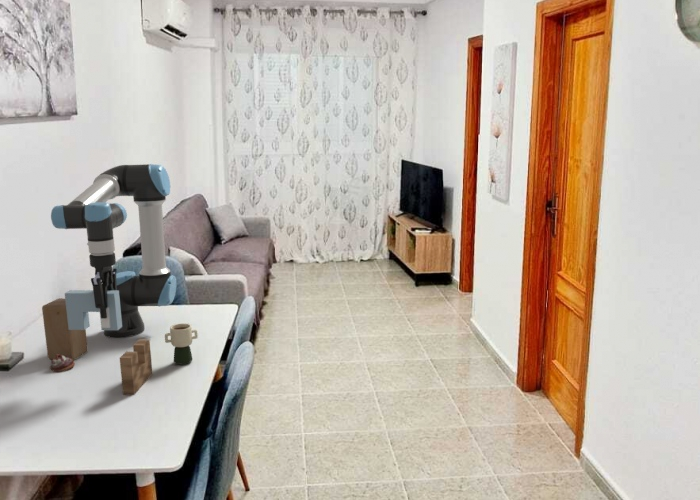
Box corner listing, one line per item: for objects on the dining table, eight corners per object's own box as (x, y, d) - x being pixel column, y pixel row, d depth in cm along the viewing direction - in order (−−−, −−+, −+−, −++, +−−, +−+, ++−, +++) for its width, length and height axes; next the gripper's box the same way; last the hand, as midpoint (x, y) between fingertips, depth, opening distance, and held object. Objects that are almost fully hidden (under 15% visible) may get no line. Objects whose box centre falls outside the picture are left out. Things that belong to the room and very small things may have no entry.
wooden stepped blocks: (142, 373, 223) (138, 339, 220) (152, 373, 222) (149, 339, 220) (123, 394, 207) (119, 357, 204) (134, 394, 207) (130, 357, 204)
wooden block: (72, 362, 234) (66, 307, 229) (47, 360, 236) (40, 305, 231) (89, 351, 243) (83, 298, 239) (64, 350, 245) (58, 297, 241)
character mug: (197, 356, 237) (195, 321, 234) (201, 363, 230) (198, 327, 228) (165, 361, 233) (162, 325, 230) (168, 368, 227) (165, 332, 224)
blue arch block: (68, 329, 213) (64, 293, 211) (73, 326, 217) (70, 290, 214) (117, 330, 212) (114, 293, 209) (122, 326, 215) (118, 290, 213)
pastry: (45, 370, 227) (43, 356, 226) (62, 362, 234) (61, 349, 233) (63, 374, 224) (61, 359, 223) (80, 365, 231) (78, 352, 230)
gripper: (102, 247, 217) (108, 316, 222) (77, 259, 201) (85, 333, 206) (124, 247, 216) (130, 317, 221) (102, 259, 200) (109, 334, 205)
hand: (109, 325), depth 214 cm, fingers closed on blue arch block, 3 cm apart
